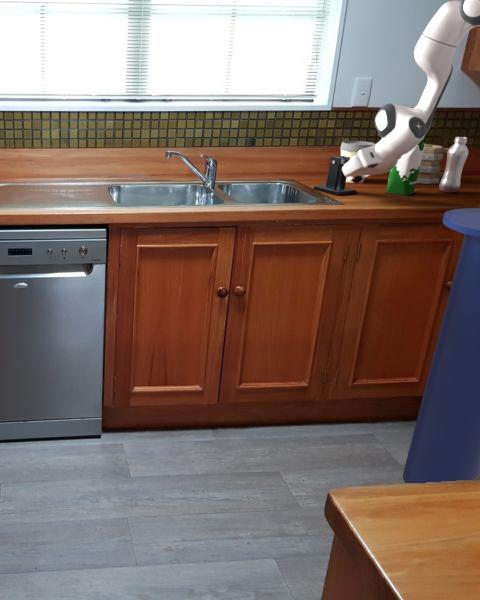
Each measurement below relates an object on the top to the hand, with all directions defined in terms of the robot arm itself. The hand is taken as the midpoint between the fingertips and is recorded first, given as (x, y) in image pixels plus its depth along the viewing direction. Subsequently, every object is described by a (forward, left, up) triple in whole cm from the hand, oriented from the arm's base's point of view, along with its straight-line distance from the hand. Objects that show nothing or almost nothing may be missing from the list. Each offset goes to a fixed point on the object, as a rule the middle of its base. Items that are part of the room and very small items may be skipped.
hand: (354, 178), depth 218 cm
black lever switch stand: (+8, 0, -6) cm, 10 cm away
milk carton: (-3, -21, -6) cm, 22 cm away
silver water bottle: (-9, -39, -6) cm, 41 cm away
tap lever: (+4, 0, +1) cm, 4 cm away
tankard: (+8, -50, -6) cm, 51 cm away
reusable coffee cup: (+21, -22, -6) cm, 31 cm away
